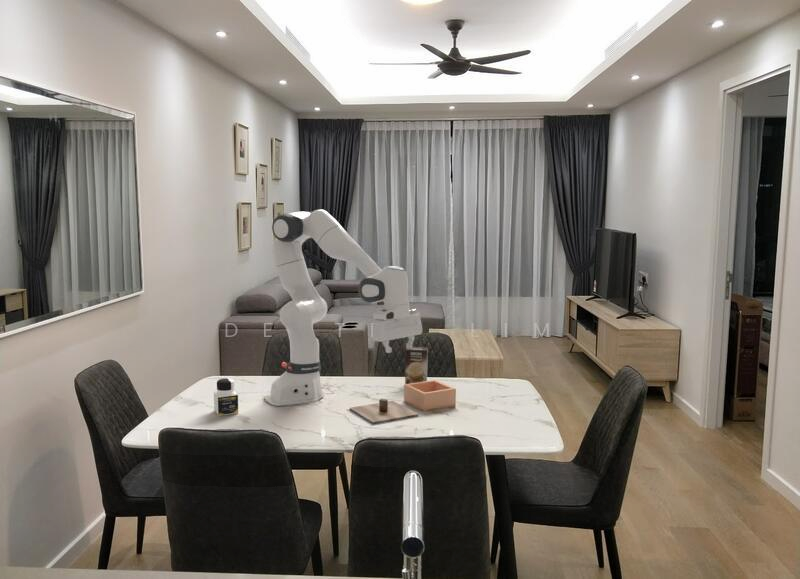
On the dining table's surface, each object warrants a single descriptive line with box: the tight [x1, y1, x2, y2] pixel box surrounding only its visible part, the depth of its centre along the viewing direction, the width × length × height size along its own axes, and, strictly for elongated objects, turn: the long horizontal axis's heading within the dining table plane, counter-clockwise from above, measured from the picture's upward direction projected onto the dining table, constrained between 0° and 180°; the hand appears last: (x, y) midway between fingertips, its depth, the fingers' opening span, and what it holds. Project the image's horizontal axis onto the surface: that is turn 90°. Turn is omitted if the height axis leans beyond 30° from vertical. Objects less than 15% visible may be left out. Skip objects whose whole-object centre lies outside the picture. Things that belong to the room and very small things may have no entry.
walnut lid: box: [349, 398, 419, 424], centre depth 232 cm, size 18×18×5 cm
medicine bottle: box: [213, 377, 239, 417], centre depth 233 cm, size 7×7×12 cm
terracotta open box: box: [403, 379, 457, 412], centre depth 244 cm, size 14×14×7 cm
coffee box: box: [404, 346, 429, 385], centre depth 268 cm, size 9×6×16 cm
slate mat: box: [346, 408, 423, 427], centre depth 232 cm, size 20×20×1 cm
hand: (399, 350), depth 230 cm, fingers open, 8 cm apart
